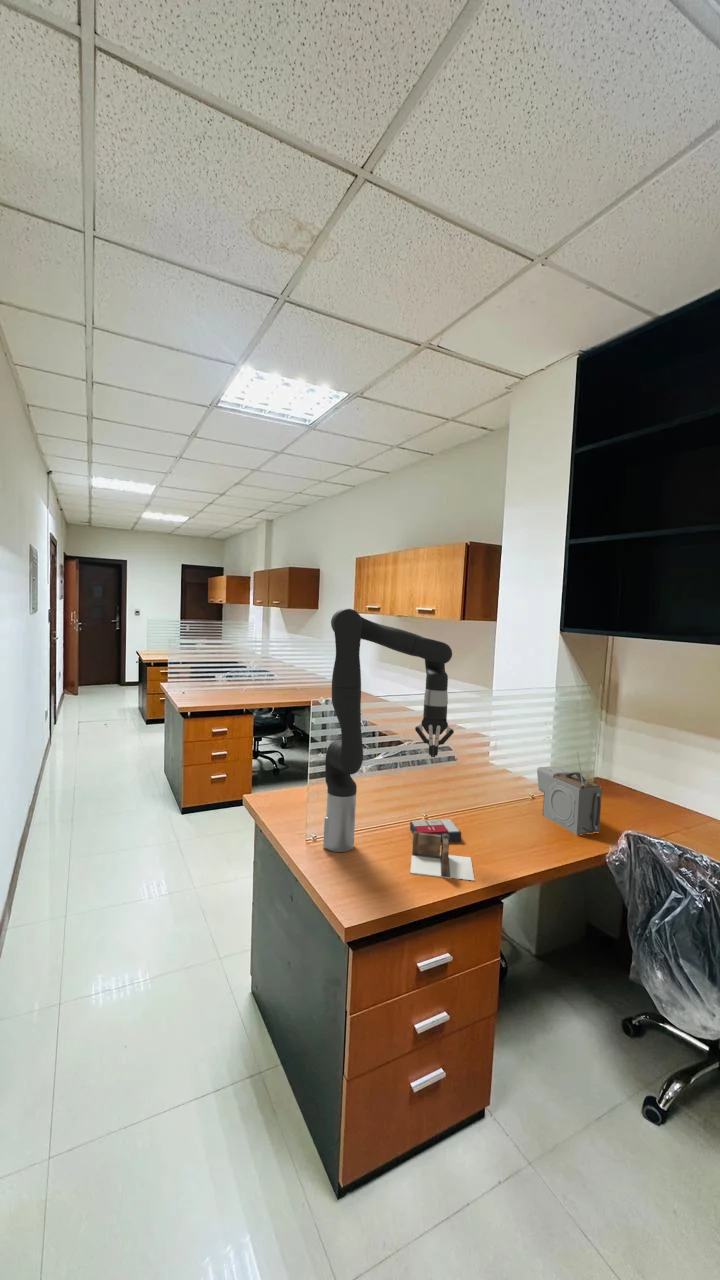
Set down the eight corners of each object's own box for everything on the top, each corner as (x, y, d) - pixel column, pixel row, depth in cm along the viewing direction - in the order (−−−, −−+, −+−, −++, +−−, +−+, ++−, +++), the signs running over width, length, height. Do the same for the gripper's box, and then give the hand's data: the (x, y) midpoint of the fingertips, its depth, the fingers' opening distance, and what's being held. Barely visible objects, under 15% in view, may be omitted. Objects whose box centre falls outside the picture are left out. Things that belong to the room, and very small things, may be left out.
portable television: (555, 810, 195) (560, 736, 194) (602, 834, 172) (607, 751, 172) (531, 812, 191) (535, 737, 190) (575, 837, 168) (580, 752, 168)
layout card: (410, 873, 137) (410, 872, 137) (412, 851, 151) (412, 850, 151) (474, 881, 135) (474, 880, 135) (470, 858, 148) (470, 857, 148)
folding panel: (441, 857, 146) (442, 836, 146) (447, 858, 146) (448, 837, 146) (441, 875, 136) (442, 852, 136) (447, 875, 135) (448, 853, 135)
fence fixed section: (412, 856, 148) (413, 833, 148) (412, 852, 150) (413, 830, 150) (448, 860, 146) (449, 836, 146) (448, 857, 149) (449, 834, 148)
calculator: (409, 819, 169) (451, 817, 171) (409, 831, 169) (451, 829, 171) (417, 832, 158) (461, 830, 160) (417, 845, 158) (461, 843, 160)
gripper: (455, 703, 158) (453, 755, 159) (415, 700, 160) (412, 752, 161) (457, 706, 151) (454, 761, 151) (414, 703, 153) (412, 757, 153)
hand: (432, 756), depth 156 cm, fingers closed
